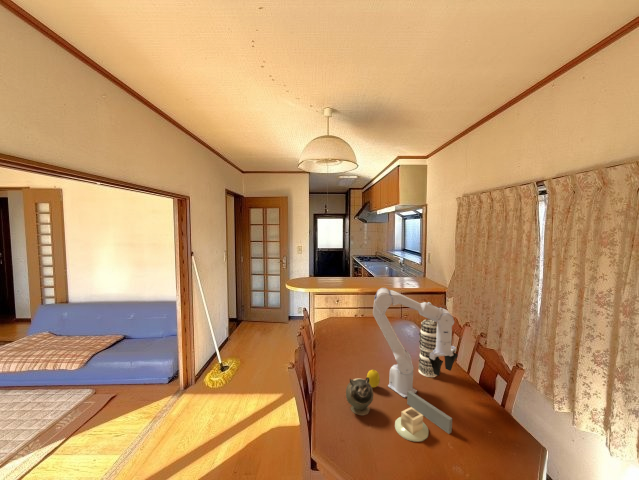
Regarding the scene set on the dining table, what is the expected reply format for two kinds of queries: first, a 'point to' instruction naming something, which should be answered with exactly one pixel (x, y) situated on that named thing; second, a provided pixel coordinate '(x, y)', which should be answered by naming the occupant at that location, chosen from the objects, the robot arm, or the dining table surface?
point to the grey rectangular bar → (430, 412)
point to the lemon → (373, 378)
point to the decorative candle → (427, 346)
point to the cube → (412, 420)
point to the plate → (407, 435)
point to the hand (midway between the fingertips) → (442, 371)
